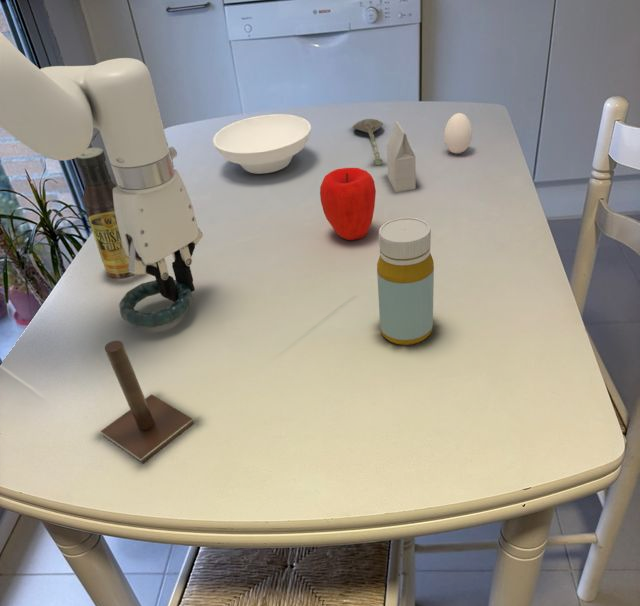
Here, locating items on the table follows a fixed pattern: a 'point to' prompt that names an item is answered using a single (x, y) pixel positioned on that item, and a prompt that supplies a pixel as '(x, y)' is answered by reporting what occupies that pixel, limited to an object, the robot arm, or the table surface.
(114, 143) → the robot arm
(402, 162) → the milk carton
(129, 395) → the peg stand
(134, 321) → the ring
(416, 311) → the bottle
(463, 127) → the egg
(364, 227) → the apple
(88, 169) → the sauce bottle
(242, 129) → the bowl
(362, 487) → the table surface
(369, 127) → the soupspoon
